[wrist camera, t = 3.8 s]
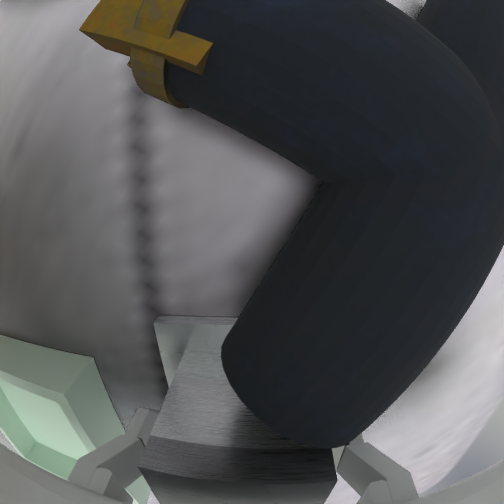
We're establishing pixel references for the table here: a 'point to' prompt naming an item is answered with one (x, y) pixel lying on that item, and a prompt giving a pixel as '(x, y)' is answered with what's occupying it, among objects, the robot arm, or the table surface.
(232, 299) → the table surface
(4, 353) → the tray
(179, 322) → the stud
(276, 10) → the pipe connector
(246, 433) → the brushed steel cube
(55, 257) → the table surface
